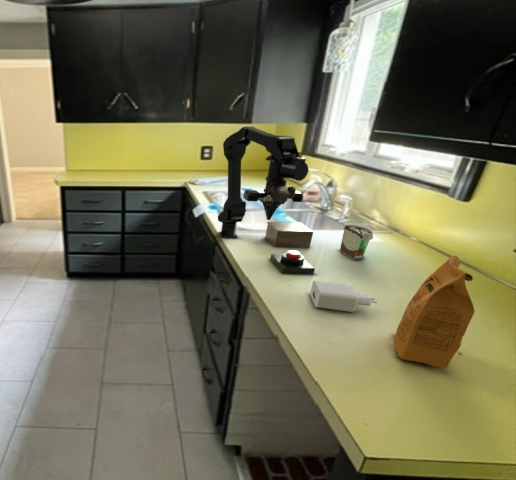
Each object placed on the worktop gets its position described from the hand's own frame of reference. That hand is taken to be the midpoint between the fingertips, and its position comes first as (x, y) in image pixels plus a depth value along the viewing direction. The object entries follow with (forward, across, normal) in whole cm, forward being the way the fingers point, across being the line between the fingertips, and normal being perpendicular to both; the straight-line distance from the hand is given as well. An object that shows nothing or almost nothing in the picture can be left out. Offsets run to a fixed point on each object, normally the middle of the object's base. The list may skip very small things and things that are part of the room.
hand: (268, 219), depth 130 cm
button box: (+13, +6, -12) cm, 19 cm away
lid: (+7, +14, +13) cm, 21 cm away
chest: (+13, +14, +13) cm, 23 cm away
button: (+9, +6, -12) cm, 16 cm away
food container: (+13, +34, 0) cm, 36 cm away
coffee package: (+13, +16, -59) cm, 63 cm away
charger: (+13, +10, -38) cm, 41 cm away
